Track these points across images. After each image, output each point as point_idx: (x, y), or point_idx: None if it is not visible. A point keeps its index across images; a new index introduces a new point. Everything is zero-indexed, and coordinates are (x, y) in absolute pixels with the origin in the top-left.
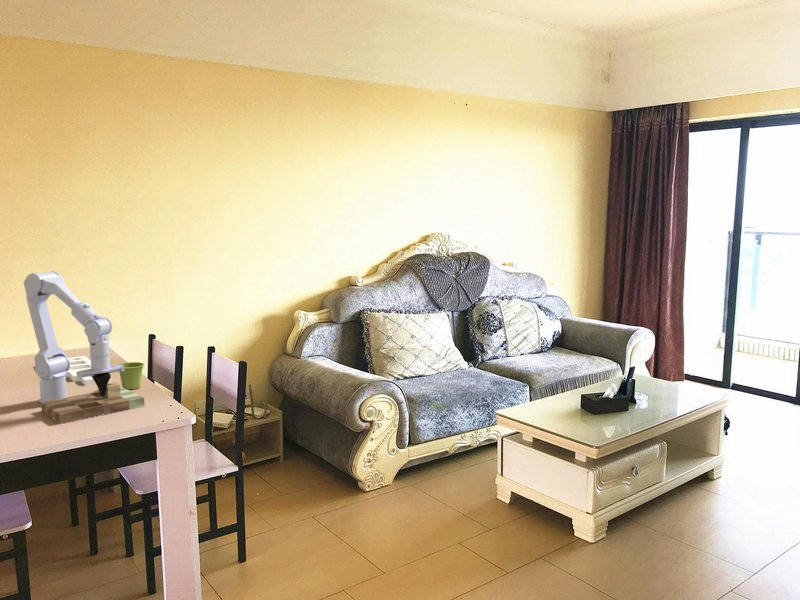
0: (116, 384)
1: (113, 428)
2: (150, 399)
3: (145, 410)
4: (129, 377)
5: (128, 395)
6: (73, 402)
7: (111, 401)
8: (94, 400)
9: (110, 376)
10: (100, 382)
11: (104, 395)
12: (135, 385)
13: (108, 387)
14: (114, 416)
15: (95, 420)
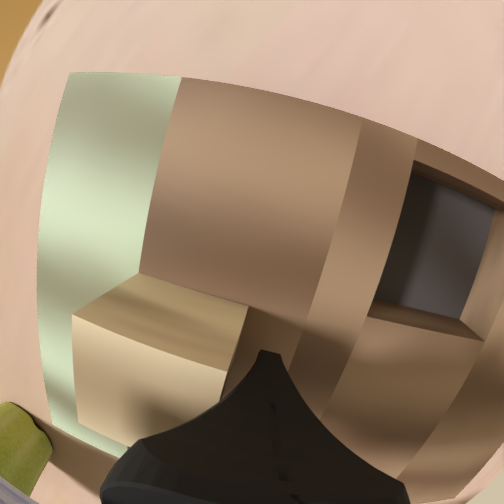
0: (97, 358)
1: None
2: (17, 203)
3: (166, 8)
4: (2, 449)
5: (88, 234)
6: (437, 417)
7: (296, 189)
8: (348, 358)
9: (127, 457)
10: (330, 452)
11: (262, 351)
12: (8, 413)
13: (220, 361)
14: (369, 55)
15: (475, 105)
